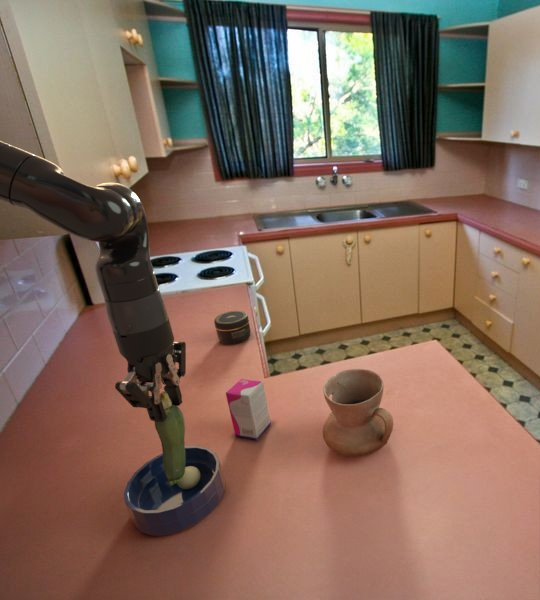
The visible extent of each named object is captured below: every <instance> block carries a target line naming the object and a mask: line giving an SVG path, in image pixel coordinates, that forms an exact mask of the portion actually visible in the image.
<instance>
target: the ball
mask: <svg viewBox="0 0 540 600" xmlns="http://www.w3.org/2000/svg"><path fill="white" fill-rule="evenodd" d="M199 480H200V472H199V470H198V469H197V468H196V467H193V466H188V467H185V473H184V475H183V480H182V482H178V483H177V484H178V486H179V487H180V488H182V489H191V488H193V487H195V486H196V485H197V484H198V482H199Z"/></svg>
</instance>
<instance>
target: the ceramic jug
mask: <svg viewBox="0 0 540 600" xmlns="http://www.w3.org/2000/svg"><path fill="white" fill-rule="evenodd" d="M384 387H385V385H384V380H383V378H382V376H381V375H379V373H377V372H375V371H373V370H370V369H365V368H349V369H344V370H341V371H339V372H336V374H335V375H332V376H330V377H328V379H326V381H325V382H324V384H323V388H322V391H323V396H324V399H325V402H326V404H327V406H328V408H329V409H330V411H331V412H329V415H328V417H327V418H326V420H325V422H324V424H323V427H322V437H323V440H324V443H325V444H326V446H327V448H328V449H329V450H330V451H332V452H334V454H337V455H339V456H342V457H347V458H362V457H365V456H369V455H372V454H374V453H376V452H378V451H379V450H381V449H383V447H384V446H386V445H387V444H388V442H389V440H390V437H391V435H392V433H393V429H394V418H393V416H392V414H391V412H390V411H389V410H388V409H385V408H383V407H380V406H381V403H382V399H383V395H384ZM331 395H332V397H331V398H330V396H331Z"/></svg>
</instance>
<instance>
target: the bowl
mask: <svg viewBox="0 0 540 600" xmlns="http://www.w3.org/2000/svg"><path fill="white" fill-rule="evenodd" d="M185 458H186V459H185V467H188V466H193V467H196V468H197V469H198V470H199V472H200V480H199V482H198V484H197V485H196V486H195V487H193V488H191V489H182V488H180V487H179V486H178V484H177V483H175V484H173V486H170V484H169V480H168V479H167V478H166V476H165V472H164V467H163V452H162V453H160V454H158V455H156V456H155V457H153V458H152V459H149V460H148V461H147V462H145V463H143V465H142V466H140V468H138V469H137V470H136V471H135V472H134V473H133V475H132V476H131V477H130V479H129V480H128V481H127V482H126V485H125V489H124V492H123V497H124V503H125V506H126V508H127V511H128V513H129V516H130V518H131V520H132V524H133V525H134V526H135V528H136V529H138V531H139V532H140V533H143V534H146V535H149V536H168V535H173V534H175V533H179V532H182V531H185V530H186V529H189V528H190V527H192V526H194V525H196V524H198V523H199V522H201V521H203V519H204V518H206V517H207V516H208V515H210V514H211V513H212V511H213V510H214V509H215V508H216V507H217V506H218V505H219V504H220V503H221V500H222V497H223V495H224V493H225V489H226V480H225V476H224V473H223V468H222V464H221V460H220V458H219V456H218V454H217V452H215V451H214V450H212V449H210V448H209V447H206V446H201V445H185Z"/></svg>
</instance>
